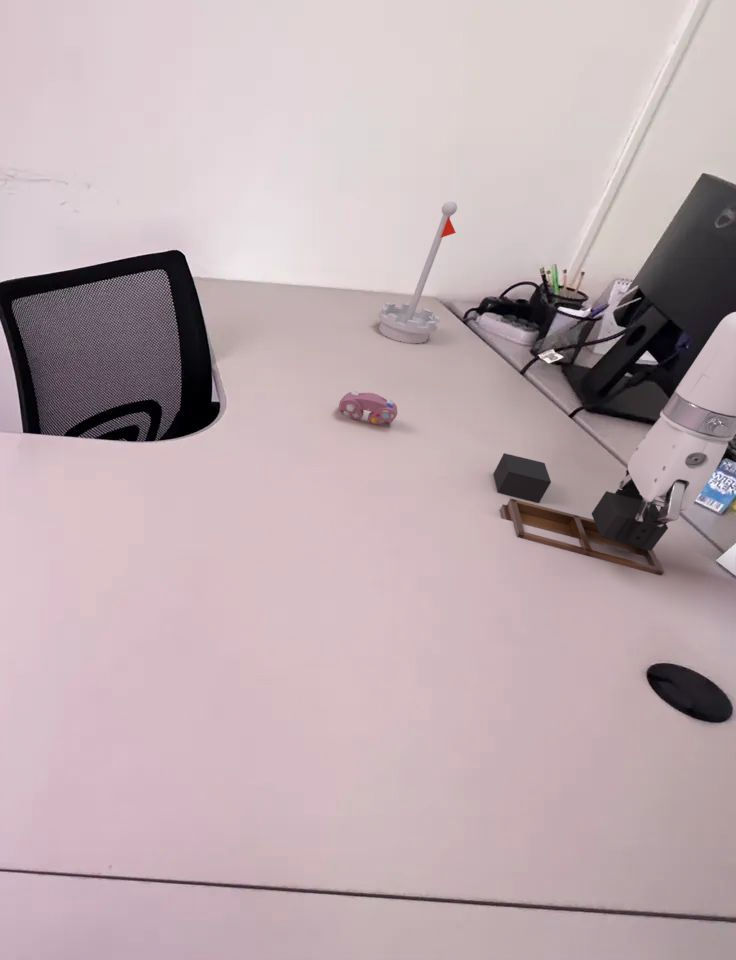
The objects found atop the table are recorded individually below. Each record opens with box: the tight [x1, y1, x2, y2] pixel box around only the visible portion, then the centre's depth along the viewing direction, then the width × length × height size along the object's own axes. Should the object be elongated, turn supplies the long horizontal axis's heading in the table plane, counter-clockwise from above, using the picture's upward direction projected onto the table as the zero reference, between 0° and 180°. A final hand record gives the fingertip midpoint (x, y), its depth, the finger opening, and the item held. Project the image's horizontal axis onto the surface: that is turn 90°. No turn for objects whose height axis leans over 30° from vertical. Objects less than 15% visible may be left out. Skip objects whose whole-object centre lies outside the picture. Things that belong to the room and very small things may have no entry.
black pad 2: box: [591, 491, 669, 551], centre depth 91 cm, size 6×6×4 cm
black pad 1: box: [493, 452, 552, 504], centre depth 106 cm, size 6×6×4 cm
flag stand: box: [378, 200, 458, 345], centre depth 152 cm, size 13×13×30 cm
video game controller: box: [338, 390, 398, 425], centre depth 120 cm, size 10×5×7 cm, turn 68°
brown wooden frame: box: [499, 498, 665, 576], centre depth 95 cm, size 18×10×2 cm, turn 69°
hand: (622, 528), depth 92 cm, fingers closed on black pad 2, 6 cm apart
